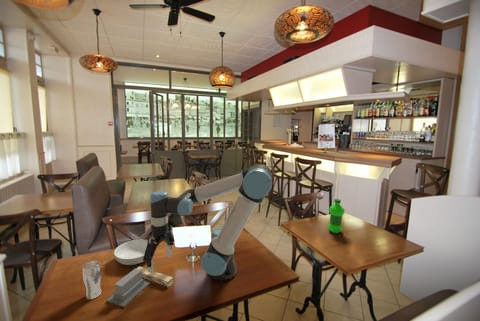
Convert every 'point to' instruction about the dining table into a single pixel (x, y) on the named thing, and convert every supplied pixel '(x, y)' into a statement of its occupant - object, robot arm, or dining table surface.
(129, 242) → the serving bowl
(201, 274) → the dining table surface
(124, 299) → the slate ridge
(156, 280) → the beech bar
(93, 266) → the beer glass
